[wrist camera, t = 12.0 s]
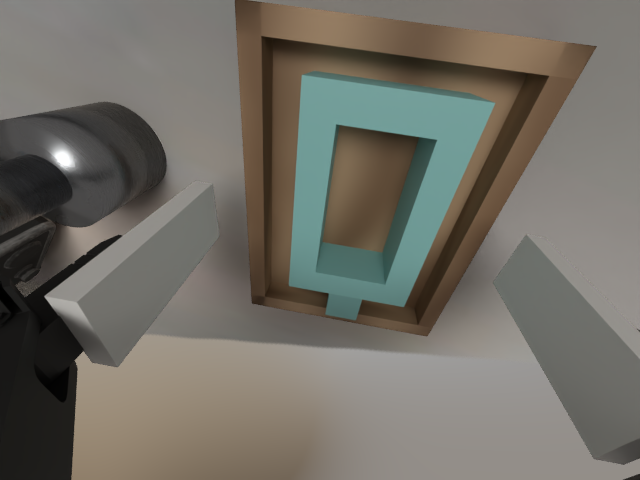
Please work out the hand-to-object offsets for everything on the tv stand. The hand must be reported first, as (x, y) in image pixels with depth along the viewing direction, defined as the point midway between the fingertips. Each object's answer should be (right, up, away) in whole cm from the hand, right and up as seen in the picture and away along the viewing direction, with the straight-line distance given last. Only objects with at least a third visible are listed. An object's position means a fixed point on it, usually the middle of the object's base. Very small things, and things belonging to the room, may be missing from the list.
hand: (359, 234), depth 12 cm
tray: (+1, +2, +5) cm, 5 cm away
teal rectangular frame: (+1, +2, +4) cm, 5 cm away
